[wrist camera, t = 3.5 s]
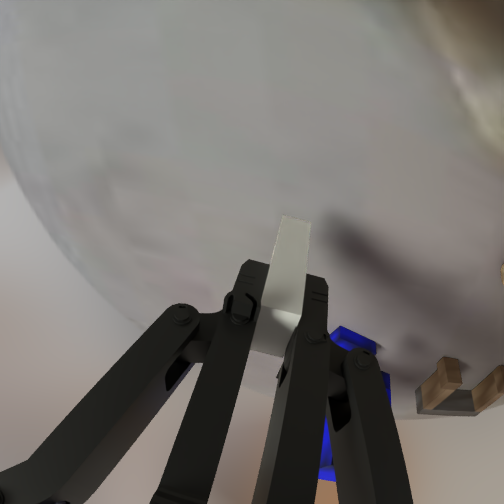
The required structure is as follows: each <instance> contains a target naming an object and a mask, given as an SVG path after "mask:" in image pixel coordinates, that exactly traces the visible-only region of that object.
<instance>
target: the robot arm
mask: <svg viewBox="0 0 504 504" xmlns="http://www.w3.org/2000/svg"><path fill="white" fill-rule="evenodd" d="M310 229H311V222H308V221H305V220H301V219H297V218H294V217H290V216H286V215H283V217H282V220H281V224H280V228H279V232H278V236H277V239H276V243H275V247H274V251H273V254H272V258H271V262H270V265H269V264H265V263H261V262H258V261H254V260H250V259H249V260H247V261H246V262H245V263H244V264H242V266H241V269H240V271H239V274H238V277H237V280H236V282H235V285H234V287H233V290H232V291H231V292H229V293H227V295H226V296H225V298H224V304H223V310H221V311H219V312H216V313H199V312H198V311H197V309H195V308H194V307H193V306H191V305H188V304H181V303H178V304H175V305H172V306H170V307H169V308H167V309H166V310H165V311H164V313H163V314H162V315H161V316H160V317H159V318H158V319H157V320H156V321H155V322H154V323H153V324H152V325H151V326H150V327H149V328H148V329H147V330H146V331H145V332H144V333H143V335H142V336H141V337H140V338H139V339H138V340H137V341H136V342H135V343H134V344H133V345H132V346H131V347H130V348H129V349H128V350H127V351H126V353H125V354H124V355H123V356H122V357H121V358H120V359H119V360H118V361H117V362H116V363H115V364H114V365H113V366H112V367H111V369H110V370H109V371H108V372H107V373H106V374H105V375H104V376H103V377H102V378H101V379H100V380H99V381H98V382H97V384H96V385H95V386H94V387H93V388H92V389H91V390H90V391H89V392H88V393H87V394H86V396H85V397H84V398H83V399H82V400H81V401H80V402H79V403H78V404H77V405H76V406H75V407H74V409H73V410H72V411H71V412H70V413H69V414H68V415H67V416H66V417H65V419H64V420H63V421H62V422H61V423H60V424H59V425H58V426H57V427H56V428H55V430H54V431H53V432H52V433H51V434H50V435H49V436H48V437H47V438H46V440H45V441H44V442H43V443H42V444H41V445H40V446H39V448H38V449H37V450H36V451H35V452H34V453H33V454H32V455H31V457H30V458H29V459H28V460H26V461H24V462H22V463H20V464H18V465H16V466H13V467H11V468H9V469H6V470H4V471H2V472H0V504H83V503H84V502H86V500H88V499H89V498H90V496H91V495H92V494H93V493H94V492H95V491H96V490H97V489H98V487H99V486H100V485H101V484H102V482H103V481H104V480H105V479H106V477H107V476H108V475H109V474H110V472H111V471H112V470H113V468H114V467H115V466H116V465H117V464H118V462H119V461H120V460H121V459H122V457H123V456H124V455H125V453H126V452H127V451H128V450H129V449H130V447H131V446H132V445H133V443H134V442H135V441H136V440H137V438H138V437H139V436H140V434H141V433H142V432H143V431H144V429H145V428H146V427H147V426H148V424H149V423H150V422H151V420H152V419H153V418H154V417H155V415H156V414H157V413H158V411H159V410H160V409H161V407H162V406H163V405H164V404H165V402H166V401H167V400H168V398H169V397H170V396H171V394H172V393H173V392H174V390H175V389H176V388H177V387H178V385H179V384H180V383H181V381H182V380H183V379H184V377H185V376H186V375H187V373H188V372H189V371H190V370H191V368H192V367H193V366H194V364H195V363H203V366H202V369H201V371H200V374H199V377H198V380H197V382H196V385H195V388H194V391H193V393H192V396H191V399H190V401H189V404H188V407H187V409H186V412H185V415H184V418H183V420H182V423H181V426H180V429H179V431H178V434H177V437H176V440H175V442H174V445H173V448H172V451H171V454H170V456H169V459H168V462H167V465H166V467H165V470H164V473H163V476H162V478H161V482H160V484H159V487H158V489H157V490H156V492H155V493H154V495H153V497H152V499H151V501H150V504H207V502H208V498H209V495H210V492H211V488H212V485H213V481H214V478H215V474H216V471H217V467H218V464H219V460H220V457H221V453H222V449H223V446H224V443H225V439H226V435H227V432H228V428H229V425H230V421H231V417H232V413H233V410H234V407H235V403H236V399H237V395H238V392H239V388H240V385H241V381H242V377H243V373H244V370H245V366H246V362H247V358H248V354H249V351H250V350H254V351H258V352H262V353H266V354H270V355H274V356H278V357H282V358H283V356H284V354H285V356H284V362H283V364H282V366H281V368H280V370H279V372H278V374H277V377H276V378H278V384H277V389H276V394H275V399H274V404H273V409H272V414H271V419H270V424H269V429H268V434H267V438H266V443H265V448H264V452H263V457H262V461H261V465H260V470H259V474H258V478H257V483H256V487H255V491H254V495H253V500H252V504H314V502H315V496H316V489H317V483H318V476H319V468H320V461H321V453H322V444H323V435H324V426H325V416H326V419H327V425H328V431H329V438H330V444H331V450H332V457H333V464H334V471H335V478H336V485H337V493H338V500H339V504H413V499H412V495H411V489H410V484H409V479H408V474H407V470H406V465H405V461H404V457H403V452H402V448H401V444H400V440H399V435H398V432H397V428H396V424H395V420H394V416H393V412H392V409H391V405H390V401H389V398H388V394H387V391H386V387H385V384H384V381H383V377H382V374H381V371H380V367H379V364H378V361H377V359H376V357H375V355H373V354H372V353H371V352H370V351H369V350H367V349H365V348H353V349H352V350H351V351H348V350H346V349H344V348H342V347H340V346H339V345H337V344H336V343H334V342H333V341H332V339H331V338H330V335H329V333H328V331H327V317H328V285H327V283H326V281H325V279H324V278H321V277H317V276H314V275H310V274H306V271H307V261H308V251H309V240H310Z"/></svg>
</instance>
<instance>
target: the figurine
mask: <svg viewBox="0 0 504 504" xmlns="http://www.w3.org/2000/svg"><path fill="white" fill-rule="evenodd" d="M330 338H331V339H332V341H333V342H334V343H336V344H337V345H339V346H340V347H342V348H344V349H346V350H348V351H351V350H352V349H353V348H365V349H367V350H369V351H370V352H371V353H372V354H373V355H376V344H375V342H374V341H372V340H370V339H368V338H365V337H363V336H361V335H359V334H357V333H355V332H353V331H351V330H348V329H346V328H344V327H342V326H339V327H338V328H337V329H336V330H335V331H334V332H333V333H331V334H330ZM381 374H382V377H383V381H384V384H385V387H386V391H387V394H388V398H389V401H390V405H391V389H390V374H388V373H385V372H383V371H381ZM318 479H322V480H328V481H334V482H336V478H335V471H334V464H333V457H332V450H331V444H330V438H329V431H328V425H327V419H326V416H325V426H324V435H323V444H322V453H321V461H320V468H319V476H318Z"/></svg>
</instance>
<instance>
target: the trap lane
mask: <svg viewBox="0 0 504 504" xmlns="http://www.w3.org/2000/svg"><path fill="white" fill-rule="evenodd" d="M437 369H438V370H437V371H436V372H435V373H434V374H433V375H431V376H430V377H429V378H428V379H427V380H426V381H425V382H424V383H423V384H422V385H421V386H420V387H419V388H418V389H417V390H416V391H415V394H416V405H417V414H428V415H445V416H476V415H478V414H479V413H480V412H482V411H483V410H484V409H486V408H487V407H488V406H490V405H491V404H492V403H493V402H495V401H496V400H497V399H498V398H500V397H501V396H502V395H503V394H504V366H500V365H499V366H498V367H497V368H496V369H495V370H494V371H493V372H492V373H491V374H490V375H489V376H487V377H486V378H485V379H484V380H483V381H482V382H481V383H480V384H479V385H477V386H476V387H475V388H474V389H473V390H472V391H468V390H456V389H457V388H458V387H460V386H461V385H462V384H463V383H462V378H461V373H460V369H459V364H458V360H457V359H453V358H447V357H443V358H442V359H441V360H440V361H439V362H438V363H437Z"/></svg>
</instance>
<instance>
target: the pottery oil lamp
mask: <svg viewBox="0 0 504 504" xmlns="http://www.w3.org/2000/svg"><path fill="white" fill-rule="evenodd" d="M501 279H502V283H503V285H504V264H503V265H502V267H501Z"/></svg>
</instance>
